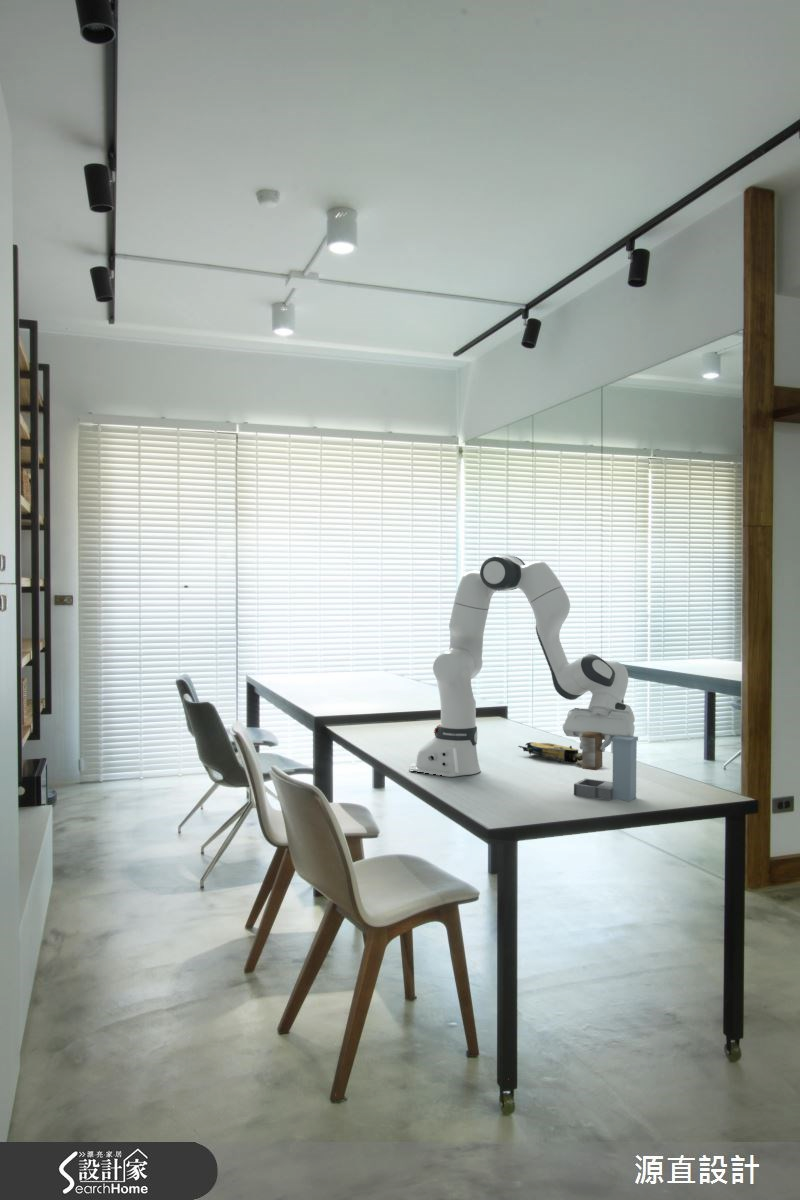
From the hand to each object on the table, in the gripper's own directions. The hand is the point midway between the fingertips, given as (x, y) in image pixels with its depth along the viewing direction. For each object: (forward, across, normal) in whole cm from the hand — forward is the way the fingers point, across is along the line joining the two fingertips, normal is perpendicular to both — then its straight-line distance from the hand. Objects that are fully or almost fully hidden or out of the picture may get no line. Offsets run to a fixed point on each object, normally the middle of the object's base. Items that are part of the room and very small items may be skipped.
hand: (591, 749), depth 238 cm
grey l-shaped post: (+9, +4, +9) cm, 13 cm away
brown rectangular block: (+3, 0, +4) cm, 5 cm away
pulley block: (-17, -25, +36) cm, 47 cm away
